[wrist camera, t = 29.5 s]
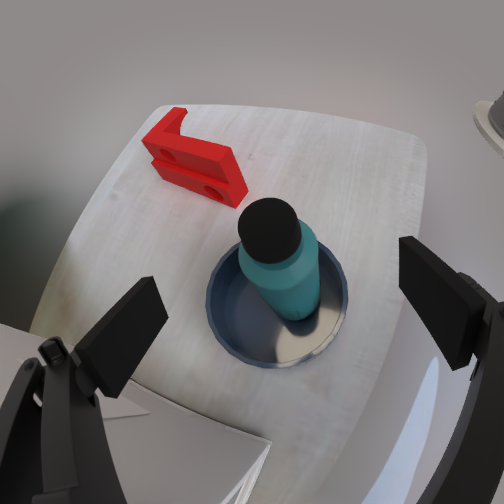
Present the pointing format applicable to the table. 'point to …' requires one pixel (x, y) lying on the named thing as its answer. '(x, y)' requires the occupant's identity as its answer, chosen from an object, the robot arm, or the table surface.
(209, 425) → the laptop
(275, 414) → the table surface
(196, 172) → the bracket
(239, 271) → the bowl
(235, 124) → the table surface
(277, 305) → the beverage bottle
